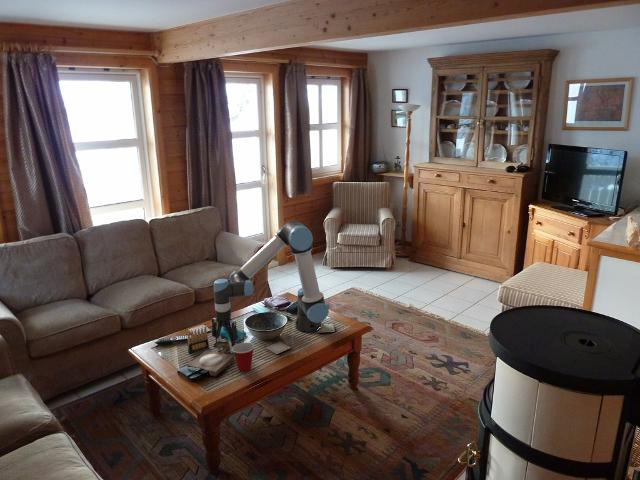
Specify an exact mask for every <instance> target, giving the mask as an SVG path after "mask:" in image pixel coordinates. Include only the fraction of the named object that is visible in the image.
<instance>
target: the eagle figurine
mask: <svg viewBox="0 0 640 480" xmlns="http://www.w3.org/2000/svg"><path fill="white" fill-rule="evenodd" d="M221 347H222V348H221ZM212 348H214V349H217V348H221V349H220V350H219V352H220V353H225V354H228V352H230V341H228V339H226V338H225V341H222V340H221V341H219V342H216V341H215V343H214V344H213V346H212Z"/></svg>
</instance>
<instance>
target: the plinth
mask: <svg viewBox="0 0 640 480" xmlns="http://www.w3.org/2000/svg"><path fill="white" fill-rule="evenodd" d="M234 361H235V355H234V354H233V355H232V354H229V353H226V354H225V353H220V351H219V352H218V351H215V350H210V349H206V350H205V351H204V352H202V353H201V354H200V355H198V356H197V357H195V358H194V359H193V360H191V362H189V363H188V364H187V368H188V367H194V368H200V369H204V370H208V371H209V373H210V375H209V376H212V377H217V376H218V375H219V374H220V373H221V372H222V371H224V370H225V369H226V368H227V367H228V366H229V365H231V364H232V363H233V362H234Z"/></svg>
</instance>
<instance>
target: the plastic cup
mask: <svg viewBox="0 0 640 480" xmlns="http://www.w3.org/2000/svg"><path fill="white" fill-rule="evenodd" d="M254 349H255V344H254V343H251V342H240V343H237V344H235V345H234V346H233V347H232V351H233V352H232V353H233V355H234V360H235V362H236V366H237V369H238V371H239V372H241V373H247V372H249V371H251V369H252V362H253V354H254Z"/></svg>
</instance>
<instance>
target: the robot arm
mask: <svg viewBox="0 0 640 480" xmlns="http://www.w3.org/2000/svg"><path fill="white" fill-rule="evenodd" d="M313 241H314V238H313V234H312V231H310V229H309V228H308V227H306V226H305V225H304V224H303V223H301V222H300V221H297V220H291V221H287V222H286V223H285V224H284V225H282V226H281V227H280V228H279V229H277V231H275V233H274V235H273V237H272V238H271V239H270V240H269V241H268V242H266V244H265V245H264V246H262V248H260V249H259V250H258V251H257V252H256V253H255V254H254V255H253V256H252V257H251V258H250V259H249V260H248V261H247V262H246V263H245V264H243V265H242V266H241V267H240V268H239V269H238V270H235V271H232V272H231V274H230V275H229V280H228V279H227V278H219V279H216V280H215V281H214V282H213V297H214V299H213V300H214V309H215V310H214V311H215V317H213V318H211V324H212V325H211V336H212V337H214V339H215V343H216V342H219V341H221V342H222V337H219V336H220V332H221V329H222V327H225V329H226V330H227V332H228V335H229V337H230V340H231V341H229V342H230V350H229V352H230V353H231V354H232V353H233V351H232V347H233V346H234V345H236V342H235V341H236V340H237V339H238V333H237V329H238V327H237V321H236V320H232V317H231V316H232V312H231V311H232V310H231V299H232V298H239V297H248V296H252V295H254V283H253V281H252V280H250V279H251V278H252V277H253V276H254V275H256V274H257V273H258V272H259V271H260V270H261V269H262V268H263V267H264V266H265V265H267V263H269V261H271V260H272V259H273V258H274V257H275V256H277V254H278V253H280V251H281V250H283V248H284V247H285V248H286V247H289V250H290V253H291V254H292V256H293V255H294V259H295V262H296V267H297V271H298V275H299V281H300V284H301V288H299V289H298V290H297V316H296V319H295V323H294V327H295V329H296V330H297V331H299V330H300V331H299V332H302V331H303V333H313V332H312V331H314V332H316V330H317V329H318V328H319V327H321V325H323V323H322V322H324V321H325V320H326V319H327V317H328V316H329V311H330V309H329V307H328V305H327V303H326V301H325V297H324V293H323V292H321V291H320V287H319V283H318V278H317V274H316V269H315V264H314V260H313V257H312V250H313V249H314V247H313ZM231 327H232V329H231ZM321 328H322V327H321ZM304 331H305V332H304ZM317 331H318V330H317ZM222 348H223V347H221V348H216V349H217V351H221V349H222Z"/></svg>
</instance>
